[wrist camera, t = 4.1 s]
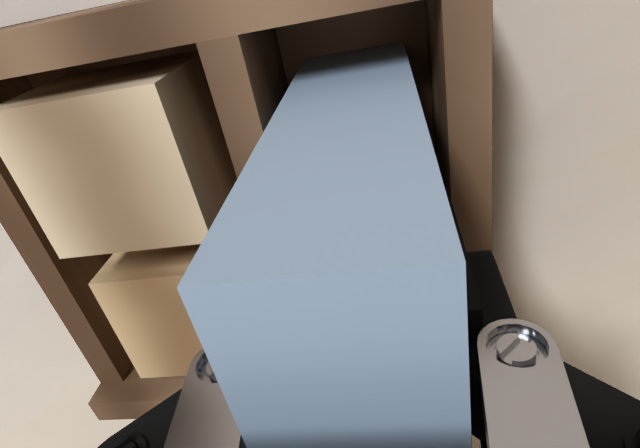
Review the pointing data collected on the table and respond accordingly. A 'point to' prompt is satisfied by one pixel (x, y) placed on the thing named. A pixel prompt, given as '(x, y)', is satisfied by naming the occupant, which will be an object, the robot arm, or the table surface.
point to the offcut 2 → (149, 308)
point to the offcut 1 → (120, 156)
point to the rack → (248, 117)
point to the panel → (339, 271)
